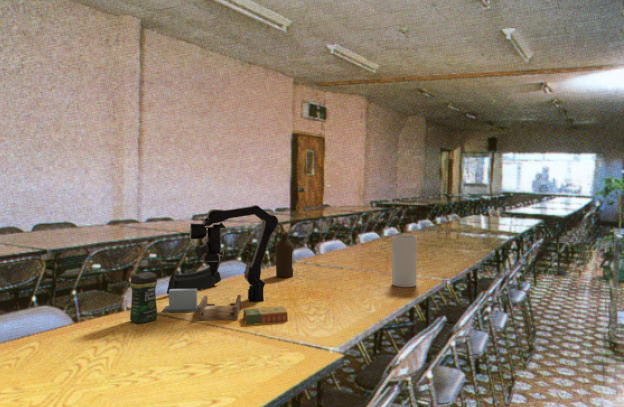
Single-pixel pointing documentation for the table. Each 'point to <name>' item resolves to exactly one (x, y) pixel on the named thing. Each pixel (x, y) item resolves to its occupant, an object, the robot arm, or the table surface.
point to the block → (182, 299)
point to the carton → (265, 315)
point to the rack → (218, 317)
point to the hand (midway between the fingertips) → (214, 274)
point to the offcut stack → (218, 310)
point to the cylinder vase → (404, 261)
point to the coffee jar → (143, 297)
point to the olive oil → (284, 257)
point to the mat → (178, 310)
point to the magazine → (193, 280)
